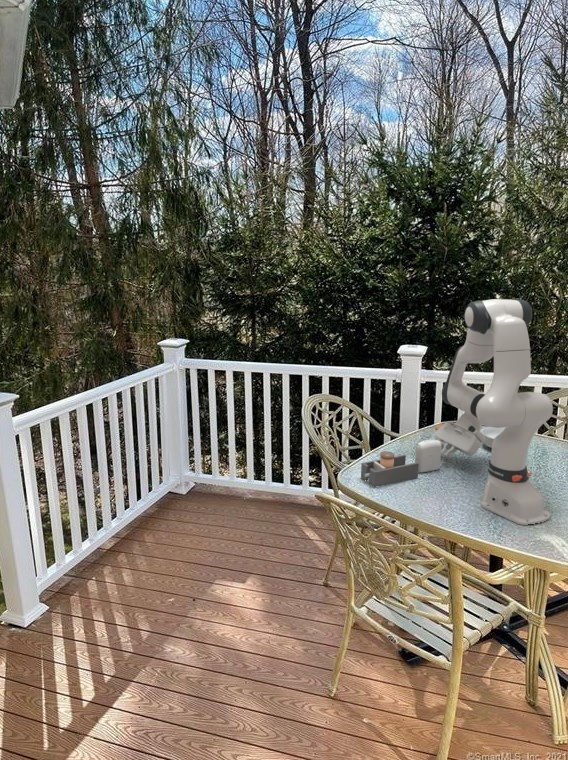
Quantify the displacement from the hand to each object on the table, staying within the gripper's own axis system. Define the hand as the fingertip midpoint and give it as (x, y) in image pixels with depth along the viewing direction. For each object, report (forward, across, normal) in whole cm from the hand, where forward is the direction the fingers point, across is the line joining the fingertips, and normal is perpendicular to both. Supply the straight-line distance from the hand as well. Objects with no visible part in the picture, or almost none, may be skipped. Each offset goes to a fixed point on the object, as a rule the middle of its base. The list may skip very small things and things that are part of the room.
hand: (444, 454), depth 211 cm
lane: (+21, 0, -14) cm, 26 cm away
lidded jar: (-8, -18, +16) cm, 25 cm away
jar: (+23, 0, -16) cm, 28 cm away
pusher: (+27, 0, -20) cm, 34 cm away
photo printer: (+9, 0, -2) cm, 10 cm away
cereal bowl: (-21, -5, +28) cm, 36 cm away
